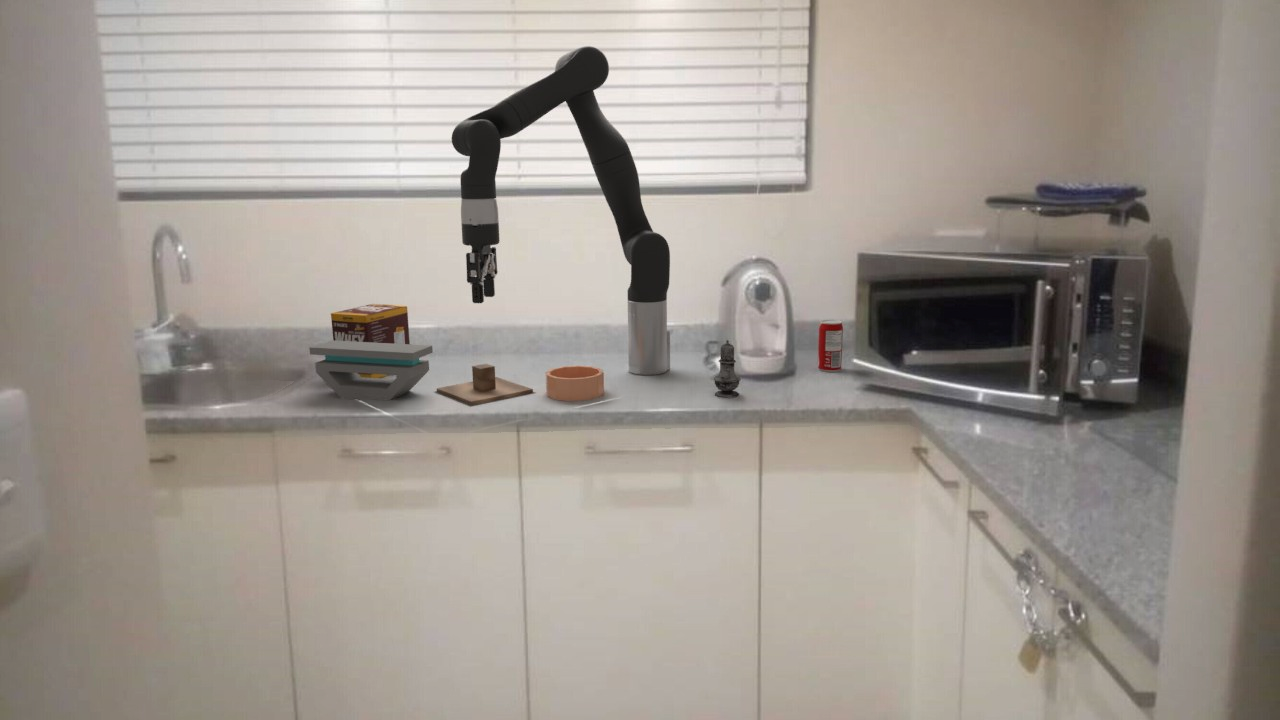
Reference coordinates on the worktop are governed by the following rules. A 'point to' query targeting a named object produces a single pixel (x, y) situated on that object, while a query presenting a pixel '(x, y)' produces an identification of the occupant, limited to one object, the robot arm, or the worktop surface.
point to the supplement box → (372, 326)
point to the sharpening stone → (370, 368)
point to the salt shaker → (727, 373)
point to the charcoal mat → (481, 403)
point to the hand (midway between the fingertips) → (483, 299)
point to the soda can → (830, 345)
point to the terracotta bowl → (574, 383)
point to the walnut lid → (484, 387)
